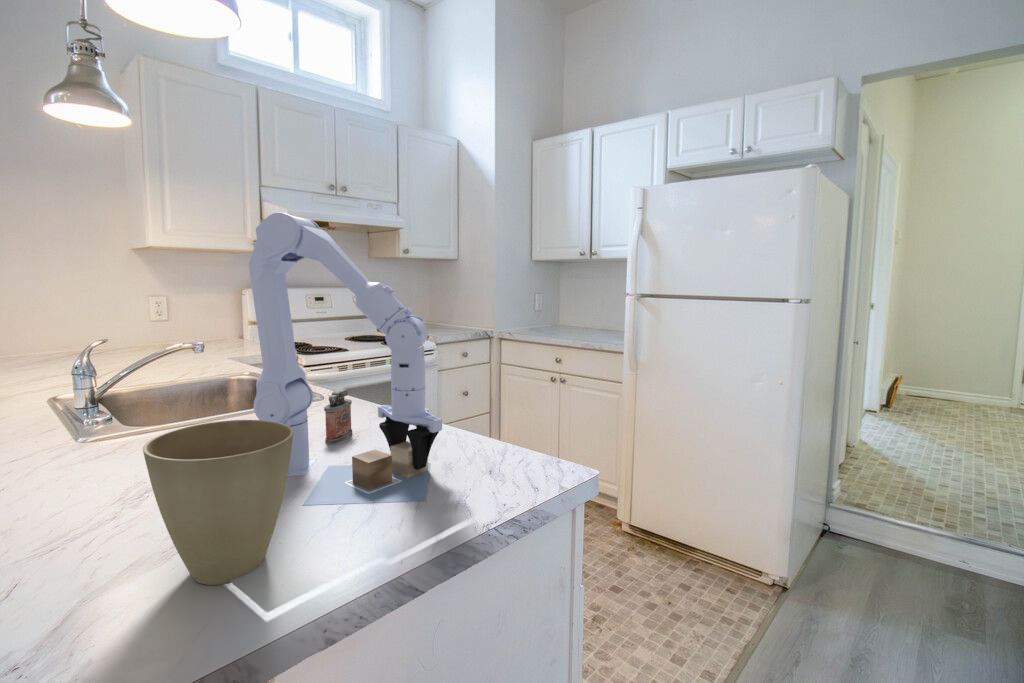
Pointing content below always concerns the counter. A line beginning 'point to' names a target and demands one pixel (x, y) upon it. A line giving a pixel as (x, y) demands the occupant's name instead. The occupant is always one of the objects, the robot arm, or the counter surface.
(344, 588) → the counter surface
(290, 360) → the robot arm
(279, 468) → the plant pot
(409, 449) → the ash block
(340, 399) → the lighter
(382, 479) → the walnut block
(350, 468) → the blueprint board
